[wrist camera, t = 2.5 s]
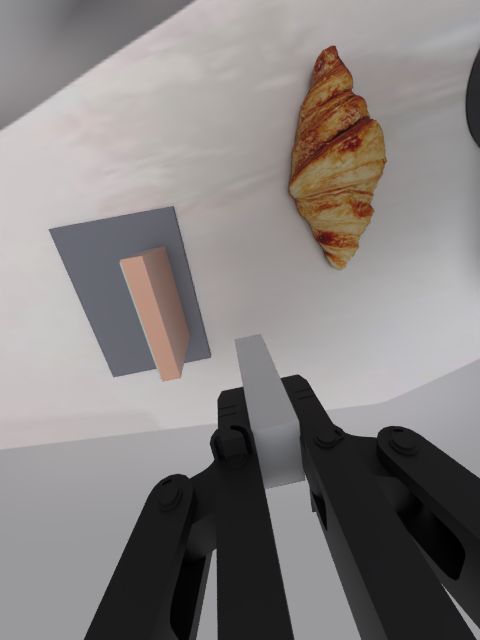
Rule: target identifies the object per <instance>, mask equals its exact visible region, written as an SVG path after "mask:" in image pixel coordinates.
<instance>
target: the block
mask: <svg viewBox="0 0 480 640" xmlns="http://www.w3.org/2000/svg"><path fill="white" fill-rule="evenodd" d="M119 263H120V266H121V269H122V272H123V275H124V277H125V280H126V283H127V286H128V289H129V291H130V294H131V297H132V300H133V303H134V306H135V308H136V311H137V314H138V317H139V320H140V323H141V325H142V328H143V331H144V334H145V337H146V339H147V342H148V345H149V348H150V351H151V354H152V356H153V359H154V362H155V365H156V368H157V371H158V373H159V376H160V379H162V381H168V380H173V379H178V378H181V374H182V370H183V365H184V361H185V356H186V352H187V347H188V343H189V338H190V334H189V330H188V327H187V323H186V319H185V316H184V312H183V309H182V305H181V301H180V298H179V294H178V291H177V287H176V283H175V280H174V276H173V273H172V269H171V265H170V262H169V258H168V255H167V251H166V247H165V246H162V247H157V248H152V249H148V250H146V251H143V252H140V253H137V254H135V255H132V256H129V257H127V258H124V259H121V260H120V262H119Z"/></svg>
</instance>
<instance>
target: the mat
mask: <svg viewBox="0 0 480 640" xmlns="http://www.w3.org/2000/svg"><path fill="white" fill-rule="evenodd" d="M49 231H50V234H51V236H52V238H53V240H54V243H55V245H56V247H57V250H58V252H59V254H60V256H61V259H62V261H63V263H64V266H65V268H66V270H67V272H68V275H69V277H70V279H71V281H72V284H73V286H74V288H75V291H76V293H77V295H78V297H79V300H80V302H81V304H82V306H83V309H84V311H85V313H86V316H87V318H88V320H89V322H90V325H91V327H92V329H93V332H94V334H95V336H96V338H97V341H98V343H99V345H100V347H101V350H102V352H103V354H104V357H105V359H106V361H107V363H108V366H109V368H110V370H111V372H112V375H113V377H118V376H123V375H127V374H132V373H137V372H142V371H147V370H152V369H157V368H156V365H155V362H154V359H153V356H152V354H151V351H150V348H149V345H148V342H147V339H146V337H145V334H144V331H143V328H142V325H141V323H140V320H139V317H138V314H137V311H136V308H135V306H134V303H133V300H132V297H131V294H130V291H129V289H128V286H127V283H126V280H125V277H124V275H123V272H122V269H121V266H120V263H119V262H120V260H121V259H124V258H127V257H129V256H132V255H135V254H137V253H140V252H143V251H146V250H148V249H152V248H157V247H162V246H165V247H166V251H167V255H168V258H169V262H170V265H171V269H172V273H173V276H174V280H175V283H176V287H177V291H178V294H179V298H180V301H181V305H182V309H183V312H184V316H185V319H186V323H187V327H188V330H189V334H190V338H189V343H188V347H187V352H186V356H185V361H184V363H187V362H192V361H197V360H202V359H207V358H211V354H210V350H209V346H208V342H207V338H206V334H205V330H204V326H203V322H202V318H201V314H200V310H199V306H198V302H197V298H196V294H195V290H194V286H193V282H192V278H191V274H190V270H189V266H188V262H187V258H186V254H185V250H184V246H183V242H182V238H181V234H180V230H179V226H178V222H177V218H176V214H175V210H174V207H173V206H172V207H167V208H161V209H156V210H150V211H145V212H140V213H134V214H129V215H123V216H118V217H113V218H107V219H102V220H96V221H91V222H85V223H80V224H75V225H69V226H64V227H58V228H53V229H49Z"/></svg>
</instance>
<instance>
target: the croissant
mask: <svg viewBox="0 0 480 640" xmlns="http://www.w3.org/2000/svg"><path fill="white" fill-rule="evenodd" d="M312 76H313V81H312V85H311V89H310V91H309V93H308V94H307V96H306V98H305V100H304V102H303V105H302V106H301V112H300V118H299V126H298V129H297V133H296V143H295V145H294V147H293V153H292V159H293V161H292V173H291V181H290V183H289V189H290V194H291V195H292V196H293V197H294V198H295V199H296V205H297V206H298V210H299V213H300V215H301V216H304V217H305V218H306V220H307V221H308V222H309V223H310V225H311V229H312V231H313V233H314V235H315V238H316V240H317V241H318V242H319V243H320V244H321V245H322V247H323V249H324V252H325V256H326V257H327V258H328V260H329V262H330V263H331V265H332V266H333V267H334V268H335V269H338V270H341V269H343V268H344V267H345V266H346V263H347V262H348V261H349V260H350V258H351V257H352V256H354V254H355V251H356V250H357V249H358V247H359V245H358V240H359V239H360V235H361V234H362V233H363V232H364V231H365V228H367V225H368V224H369V223H370V218H371V217H372V214H373V212H374V209H373V208H372V206H371V205H370V203H371V201H372V198H373V191H374V190H375V188H376V186H377V183H378V182H377V181H378V180H379V179H380V177H381V176H382V174H383V170H384V165H385V163H386V162H387V160H386V156H385V145H384V136H383V132H382V129H381V127H380V125H379V123H377V121H376V120H373V119H370V117H369V113H368V111H367V105H366V102H365V99H364V98H362V97H361V96H358V95H355V94H354V93H353V92H352V88H353V79H352V75H351V73H350V71H349V70H348V69H347V68H346V66H345V65H344V63H343V62H342V60H341V59H340V58H339V56H338V52H337V49H336V47H335V46H330V47H328V48H327V49H325V50H323V51H322V53H321V54H320V55H319V56H318V58H317V60H316V63H315V67H314V70H313V74H312Z"/></svg>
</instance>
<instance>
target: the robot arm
mask: <svg viewBox="0 0 480 640" xmlns="http://www.w3.org/2000/svg"><path fill="white" fill-rule="evenodd" d="M467 114H468V121H469V126H470V129H471V132H472V134H473V136H474V138H475V140H476V142H477V143H478V144H479V146H480V52H479V54H478V56H477V59H476V62H475V64H474V67H473V70H472V74H471V78H470V83H469V88H468V96H467ZM235 345H236V350H237V355H238V361H239V366H240V372H241V377H242V382H243V387H240V388H235V389H230V390H225V391H222V392H221V394H220V396H219V398H218V400H217V401H218V429H217V430H216V431H215V432H214V434H213V435H212V436H211V441H210V446H211V449H212V453H213V456H214V459H215V460H214V461H213V463H212V464H211V465H210V466H209V467H208V468H207V469H205V470H204V471H202V472H201V473H199V474H197V475H195V476H194V477H192V478H190V479H189V478H188V477H187V476H186V475H181V474H174V475H170V476H168V477H166V478H164V479H162V480H161V481H160V482H159V483H158V484H157V485H156V486H155V487H154V488H153V489H152V491H151V493H150V494H149V496H148V498H147V500H146V503H145V505H144V507H143V509H142V511H141V514H140V516H139V518H138V521H137V523H136V525H135V527H134V529H133V531H132V534H131V536H130V538H129V540H128V543H127V545H126V547H125V549H124V551H123V554H122V556H121V558H120V560H119V563H118V565H117V567H116V569H115V571H114V574H113V576H112V578H111V580H110V583H109V585H108V587H107V589H106V591H105V594H104V596H103V598H102V601H101V603H100V605H99V607H98V609H97V611H96V614H95V616H94V618H93V620H92V622H91V625H90V627H89V629H88V631H87V634H86V636H85V638H84V640H196V637H197V631H198V626H199V621H200V615H201V610H202V605H203V599H204V594H205V589H206V583H207V578H208V573H209V567H210V562H211V556H212V551H213V550H215V549H216V548H217V611H218V612H217V620H218V640H294V635H293V630H292V625H291V620H290V615H289V610H288V605H287V600H286V595H285V590H284V584H283V579H282V574H281V569H280V564H279V559H278V554H277V549H276V544H275V539H274V534H273V529H272V524H271V519H270V513H269V508H268V504H267V499H266V493H265V489H268V488H273V487H277V486H282V485H286V484H290V483H295V482H300V481H304V480H305V475H306V478H307V480H308V483H309V487H310V497H311V506H312V512H316V513H317V516H318V518H319V521H320V524H321V527H322V530H323V533H324V535H325V538H326V541H327V544H328V547H329V550H330V552H331V555H332V558H333V561H334V564H335V567H336V569H337V572H338V575H339V578H340V581H341V583H342V586H343V589H344V592H345V595H346V597H347V600H348V603H349V606H350V609H351V611H352V614H353V617H354V620H355V623H356V625H357V628H358V631H359V634H360V637H361V640H476V638H475V637H474V635H473V633H472V632H471V630H470V628H469V627H468V625H467V624H466V622H465V621H464V619H463V618H462V616H461V614H460V613H459V611H458V610H457V608H456V606H455V605H454V603H453V602H452V600H451V598H450V597H449V595H448V594H447V592H446V591H445V589H444V587H445V588H446V589H447V591H448V592H449V593H450V594H451V595H452V597H453V598H454V599H455V600H456V601H457V603H458V604H459V605H460V606H461V607H462V608H463V610H464V611H465V612H466V613H467V614H468V616H469V617H470V618H471V619H472V620H473V622H474V623H475V624H476V625H477V626H478V627H479V629H480V478H478V477H477V476H476V475H474V474H473V473H471V472H470V471H469V470H467V469H466V468H465V467H463V466H462V465H461V464H459V463H458V462H456V461H455V460H454V459H452V458H451V457H450V456H448V455H447V454H446V453H444V452H443V451H441V450H440V449H439V448H437V447H436V446H435V445H433V444H432V443H431V442H429V441H428V440H426V439H425V438H424V437H422V436H421V435H419V434H418V433H416V432H414V431H412V430H410V429H407V428H404V427H400V426H389V427H385V428H383V429H382V430H381V431H380V432H379V433H378V436H377V438H375V437H360V436H354V435H350V434H347V433H345V432H344V431H343V430H342V429H341V428H339V427H338V426H336V425H334V424H333V423H332V421H331V420H330V418H329V416H328V415H327V413H326V411H325V410H324V408H323V406H322V405H321V403H320V401H319V400H318V398H317V396H316V395H315V393H314V391H313V390H312V388H311V386H310V385H309V383H308V381H307V380H306V379H304V378H303V377H301V376H300V375H293V376H289V377H284V378H280V377H279V374H278V372H277V370H276V368H275V365H274V363H273V361H272V358H271V356H270V354H269V352H268V349H267V347H266V345H265V342H264V340H263V338H262V335H261V334H259V335H254V336H249V337H244V338H239V339H235ZM304 472H305V473H304ZM440 582H441V583H440ZM442 584H443V586H444V587H443V586H442Z"/></svg>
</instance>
